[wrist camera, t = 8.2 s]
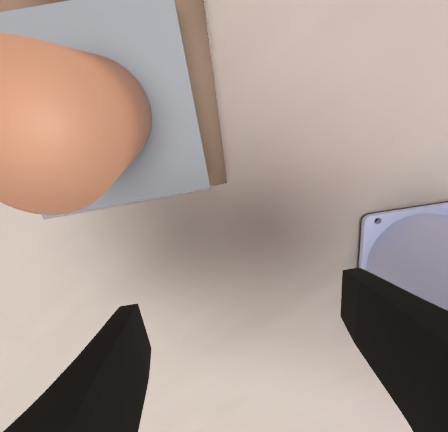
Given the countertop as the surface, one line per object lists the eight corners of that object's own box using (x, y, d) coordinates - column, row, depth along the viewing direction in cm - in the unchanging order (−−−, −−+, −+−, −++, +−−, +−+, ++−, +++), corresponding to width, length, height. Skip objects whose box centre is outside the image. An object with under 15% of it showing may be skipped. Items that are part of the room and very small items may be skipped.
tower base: (199, -6, 15) (199, -30, 13) (222, 171, 19) (226, 183, 16) (15, 17, 15) (-26, -2, 12) (76, 193, 19) (55, 208, 16)
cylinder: (142, 51, 11) (98, 29, 6) (158, 164, 13) (134, 210, 8) (24, 55, 10) (-111, 36, 6) (58, 169, 12) (-23, 219, 8)
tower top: (176, 8, 13) (170, -18, 10) (208, 174, 16) (210, 188, 13) (6, 38, 13) (-46, 20, 10) (70, 199, 16) (43, 219, 13)
